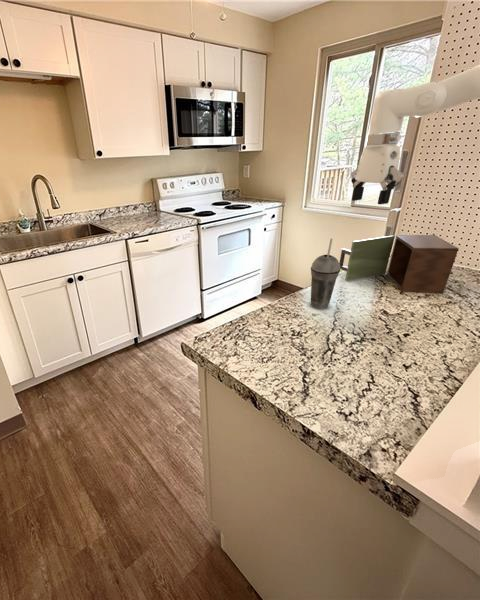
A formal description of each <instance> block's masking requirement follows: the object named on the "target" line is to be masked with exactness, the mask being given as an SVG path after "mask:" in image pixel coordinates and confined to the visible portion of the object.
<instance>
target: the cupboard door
mask: <svg viewBox="0 0 480 600" xmlns="http://www.w3.org/2000/svg"><path fill="white" fill-rule="evenodd" d="M395 238H396V235H393V234H392V235H386V236H380V237H379V236H378V237H373V238H367V239H360V240H359V239H358V240H353V241H352V242H351V248H350V249H347V248H345V247H344V248H341V251H340V257H339V261H338V262H339V264H340V270H342V271H345V272H346V273H345V279H344V280H345V281H347V282H348V281H353V280H359V279H366V278H371V277H378V276H383V275H386V274H387V270H388V266H389V262H390V258H391V254H392V250H393V246H394V242H395ZM346 255H347V256H349V258H348V261H347V266H346V265H344V264H345V263H344V262H345V257H346Z"/></svg>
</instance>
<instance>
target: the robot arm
mask: <svg viewBox="0 0 480 600" xmlns="http://www.w3.org/2000/svg"><path fill="white" fill-rule="evenodd" d="M478 99H480V64H478V65H475V66H473V67H471V68H469V69H467V70H464V71H461V72H460V73H457V74H455V75H452V76H449V77H447V78H444V79H442V80H439V81H430V82H425V83H422V84H419V85H415V86H411V87H406V88H395V89H394V88H393V89H389V90H385V91H381V92H379V93H377V94H376V96H375V98H374V101H373V105H372V111H371V115H370V121H369V127H368V131H367V135H366V142H365V147H364V148H363V150H362V153H361V156H360V157H359V158H360V159H359V162H358V166H357V169H354V170H353V171H351V172H350V179H351V180H350V181H351V184H352V188H353V190H352V196H351V201H353V202H355V201H361V200H362V199H363V195H364V189H365V186H364V185H365V184H366V183H368V184H369V183H371V184H379V185H380V187H381V189H382V190H381V189H380V191H379V195H378V199H377V205H386V204H389V202H390V197H391V195H392V191H393V190H394V189H395V188H396V187H397V185H399V184H400V181H402V179H403V178H404V176H405V175H404V173H403V172H402V171H400V170H399V165H400V158H401V157H400V156H401V146H400V144H398V142H399V141H400V140H401V139H402V135H401V131H402V126H403V121H404V117H415V118H424V117H428V116H430V115H433V114H436V113H439V112H442V111H446V110H447V109H450V108H453V107H457V106H459V105H462V104H465V103H469V102H471V101H475V100H478Z"/></svg>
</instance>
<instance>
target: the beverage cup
mask: <svg viewBox="0 0 480 600" xmlns="http://www.w3.org/2000/svg"><path fill="white" fill-rule="evenodd" d="M332 245H333V238H330V240H329V245H328V249H327V254H322V255H320V256H317V257H316V258H315V259H314V260H313V261H312V263H311V267H310V275H311V279H310V280H311V285H310V307H312V308H313V309H316V310H327V309H328V308H329V305H330V303H331V299H332V296H333V292H334V289H335V285H336V281H337V279H338V277H339V274H340V272H341V269H340V264H339V262H340V261H339V260H338V258H336V257H335V256H334V255H331V254H330V253H331V249H332Z"/></svg>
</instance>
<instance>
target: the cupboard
mask: <svg viewBox="0 0 480 600" xmlns="http://www.w3.org/2000/svg"><path fill="white" fill-rule="evenodd" d="M458 252H459V247H457V246H455V245H454V244H452V243H450V242H449V241H446V240H444V239H443V238H442V237H439V236H438V235H436V234H396V235H395V238H394V242H393V246H392V250H391V254H390V258H389V262H388V266H387V270H386V275H387V277H388V278H389V279H390V281H392V283H393V284H394V285H395V286H396V287H397V288H398V290H400V292H401V293H423V294H444V292H445V290H446V287H447V283H448V281H449V278H450V276H451V271H452V269H453V267H454V264H455V262H456V261H455V260H456V258H457V255H458Z"/></svg>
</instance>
